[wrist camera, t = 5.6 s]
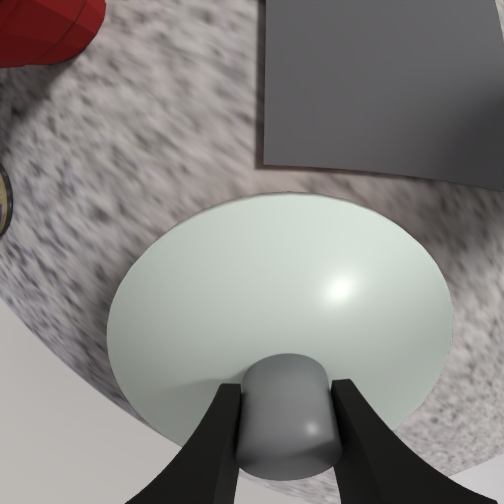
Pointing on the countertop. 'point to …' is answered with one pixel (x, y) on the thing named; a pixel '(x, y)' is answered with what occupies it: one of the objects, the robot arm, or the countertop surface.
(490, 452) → the countertop surface
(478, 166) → the mat
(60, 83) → the countertop surface
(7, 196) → the pill bottle
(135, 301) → the lid
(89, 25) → the plastic cup
